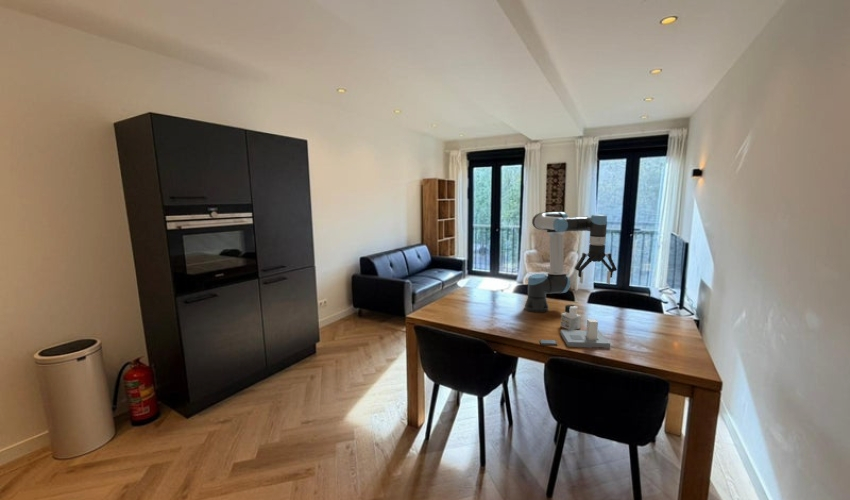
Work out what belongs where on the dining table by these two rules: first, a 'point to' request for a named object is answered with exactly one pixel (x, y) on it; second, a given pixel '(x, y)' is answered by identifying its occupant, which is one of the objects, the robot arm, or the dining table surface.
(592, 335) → the light grey rectangular block
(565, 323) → the container
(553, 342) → the phone
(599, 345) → the outlet plate
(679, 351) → the dining table surface
